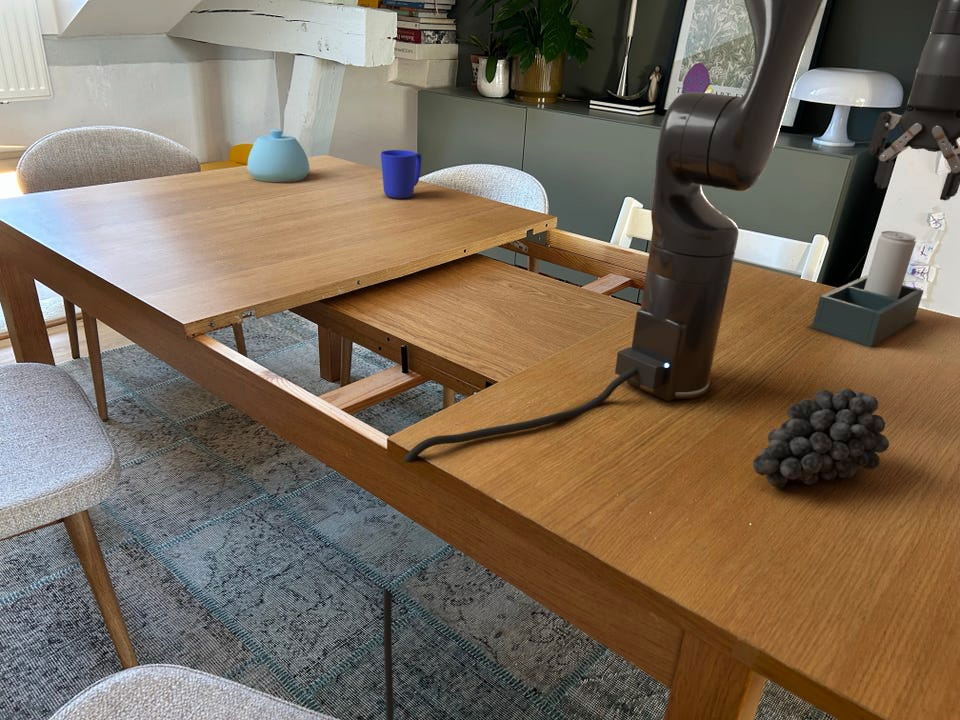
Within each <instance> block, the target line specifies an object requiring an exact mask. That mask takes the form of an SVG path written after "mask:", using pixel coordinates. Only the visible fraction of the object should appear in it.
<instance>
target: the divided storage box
mask: <svg viewBox="0 0 960 720" xmlns="http://www.w3.org/2000/svg"><path fill="white" fill-rule="evenodd" d="M867 277H868V274H866V275H864V276H862V277H859V278H857V279H855V280H852V281H850V282H848V283H846V284H844V285H841V286H839V287H837V288H835V289H833V290H831V291H828V292H826V293H824V294H822V295H820V296H819V299H818V302H817V307H816V310H815V314H814V317H813V322H812V326H811V329H814V330H818V331H821V332H823V333H826V334H830V335H832V336H836V337H839V338H842V339H845V340H848V341H850V342H851V341H852V342H854V343H857V344H861V345H864V346H867V347H869V348H872V347H874V346H875V345H877V344H879V343H880V342H882V341H883V340H885V339H887V338H888V337H890V336H892V335H893V334H895V333H896V332H898V331H900V330H901V329H903V328H905V327H906V326H908V325H910V324H911V323H913V322H914V321H915V320H916V316H917V313H918V310H919V306H920V304H921V300H922V297H923V294H924V290H923V289H920V288H915V287H913V286H908V285H904V284H902V288H901V291H900V294H899V297H898V299H895V298H891V297H888V296H884V295H880V294H877V293H873V292H869V291H866V290H864V288H865V284H866V281H867Z"/></svg>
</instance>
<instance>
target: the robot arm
mask: <svg viewBox="0 0 960 720" xmlns="http://www.w3.org/2000/svg"><path fill="white" fill-rule="evenodd" d="M743 1H744V5H745V8H746V12H747V16H748V20H749V24H750V26H751V31H752V36H753V42H754V62H753V66H752V68H753V69H752V73H751V76H750V79H749V83H748V86H747V88H746V91H744V92H745V93H744V94H743V95H742V96H735V95H727V94H718V93H711V92H701V91H686V92H683V93H681V94H679V95H677V97H675V98H674V99H673V100H672V102H671V103H670V105H669V107H668V108H667V110H666V112H665V114H664V116H663V120H662V123H661V127H660V131H659V135H658V140H657V148H656V149H657V150H656V158H655V170H654V171H655V172H654V180H653V181H654V182H653V192H652V193H653V194H652V200H651V210H650V212H651V213H650V218H651V228H652V232H651V237H650V244H649V251H648V252H649V253H648V258H647V265H646V271H645V278H644V284H643V285H644V286H643V291H642V298H641V304H640V309H638V310H637V311H636V315H635V319H634V320H635V321H634V327H633V333H632V341H631V346H628V347H626V348H624V349H621V350H619V351H617V356H616V363H615V370H614V374H616V375H617V377H616V378H615V379H613V380H612V381H611V382H610V383H609V384H608V385H607V387H605V389H604V390H603V391H602V392H601V393H600V394H599V395H597V396H596V397H594V398H593V399H591V400H590V401H588V402H586V403H585V404H582V405H581V406H577V407H576V408H572V409H569V410H568V409H567V410H565V411H560V412H557V413H552V414H549V415H545V416H542V417H538V418H534V419H530V420H526V421H521V422H516V423H515V422H514V423H509V424H502V425H497V426H492V427H491V426H490V427H485V428H481V429H476V430H471V431H467V432H462V433H456V434H445V435H443V434H442V435H436V436H432V437H428V438H426V439H424V440H422V441H420V442H418V443H417V444H416V445H414V446H413V447H412V448H411V449H410V450H409V451H408V452H407V454H406V455H405V457H404V458H403V462H404V463H411V462H413V461H414V460H415V459H416V458H417V457H418V456H419V455H421V454H422V453H423V452H424V451H426V450H428V449H429V448H431V447H435V446H440V445H448V444H449V445H450V444H459V443H465V442H469V441H473V440H474V441H475V440H477V439H483V438H488V437H494V436H498V435H504V434H509V433H515V432H522V431H525V430H526V431H527V430H530V429H535V428H539V427H542V426H546V425H549V424H553V423H557V422H561V421H564V420H569V419H572V418H574V417H577V416H578V415H579V416H580V415H581V414H583V413H585V412H587V411H589V410H591V409H594V408H596V407H597V406H599V405H600V404H602V403H603V402H605V401H606V400H607V399H609V397H610V396H611V395H612V394H613V392H614V391H615V390H616V389H617V388H618V387H620V386H621V385H622V384H623V383H626V384H629V385H630V386H633V387H635V388H637V389H640V390H642V391H644V392H647V393H649V394H650V395H653V396H655V397H658V398H660V399H662V400H664V401H666V402H671V401H672V400H687V399H695V398H698V397H702V396H703V395H705V394H706V393H707V392H708V390H709V387H710V382H711V379H710V377H711V373H712V369H713V368H712V367H713V364H714V357H715V353H716V347H717V343H718V339H719V332H720V328H721V324H722V323H721V322H722V318H723V313H724V308H725V304H726V299H727V294H728V293H727V292H728V288H729V284H730V283H729V282H730V278H731V274H732V270H733V263H734V259H735V255H736V249H737V244H738V240H739V227H738V225H737V224H736V222H735V221H733V219H732V218H730V217H728V216H727V215H726V214H724V213H722V212H721V211H720V210H718V209H717V208H716V207H714V205H712V203H711V202H710V201H709V200H708V199H707V197H706V196H705V194H704V192H703V187H702V186H705V187H710V188H715V189H720V190H726V191H733V192H745V191H748V190H750V189H751V188H753V187H754V186H755V185H756V184H757V183H758V181H759V180H760V178H761V177H762V175H763V174H764V171H765V170H766V168H767V166H768V163H769V161H770V159H771V156H772V154H773V151H774V149H775V148H774V147H775V145H776V142H777V139H778V136H779V132H780V128H781V126H782V122H783V120H784V115H785V112H786V110H787V106H788V102H789V99H790V97H791V92H792V89H793V87H794V86H793V85H794V83H795V79H796V75H797V72H798V69H799V66H800V63H801V60H802V57H803V54H804V51H805V47H806V45H807V43H808V40H809V37H810V35H811V32H812V29H813V27H814V24H815V22H816V18H817V16H818V14H819V12H820V9H821V7H822V4H823V2H824V0H743ZM897 124H898V125H899V127H900V129H901V132H902V135H901V136H899V137H898V138H897V139H896V140H895V141H893V142H892V144H891V145H890V146H889V147H887V148H885V146H886V143H887V140H888V136H889V135H890V131H891V130H892V129H894V128H896V126H897ZM959 138H960V0H938V4H937V7H936V11H935V14H934V17H933V21H932V23H931V28H930V31H929V35H928V38H927V40H926V42H925V44H924V46H923V49H922V52H921V55H920V59H919V62H918V65H917V68H916V72H915V77H914V81H913V84H912V87H911V91H910V94H909V98H908V102H907V105H906V108H905V111H904V113H903V114H896V113H895V112H894V111H884V112H881V113H880V114H879V116H878V118H877V122H876V125H875V128H874V130H873V133H872V137H871V140H870V143H869V145H868V148H867V153H868V155H870V156H873V157H875V158H876V159H877V160H878V165H877V168H876V171H875V177H874V184H876V188H877V189H881V190H883V189H886V188H887V187H888V185H889V182H890V178H891V174H892V171H893V167H894V164H895V161H893V160H894V159H895V158H896V157H898V156H899V155H900V154H901V153H903V151H905V150H907V149H908V148H910V149H911V150H925V151H928V152H933V153H937V152H941V154H942V156H943V158H944V159H945V160H946V162H947V165H948V166H949V167H948V168H949V169H950V172H947V174H946V177H945V180H944V184H943V186H942V190H941V192H940V193H941V194H940V196H939V200H941V201H945V202H946V201H949V200H950V199H951V197H952V198H953V197H955V196H956V195H957V194H958V191H959V188H960V144H959V142H958V139H959ZM392 598H393V594H392V592H391V591H389V590H388V589H387V587H385V586H383V655H384V656H383V657H384V658H383V659H384V687H385V689H384V690H385V716H386V718H385V719H386V720H394V685H393V684H394V682H393V681H394V680H393V677H394V676H393V646H392V645H393V644H392V643H393V639H392V638H393V637H392V632H393V631H392V629H393V628H392V607H393V605H392V604H393V602H392V601H393V599H392Z"/></svg>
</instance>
